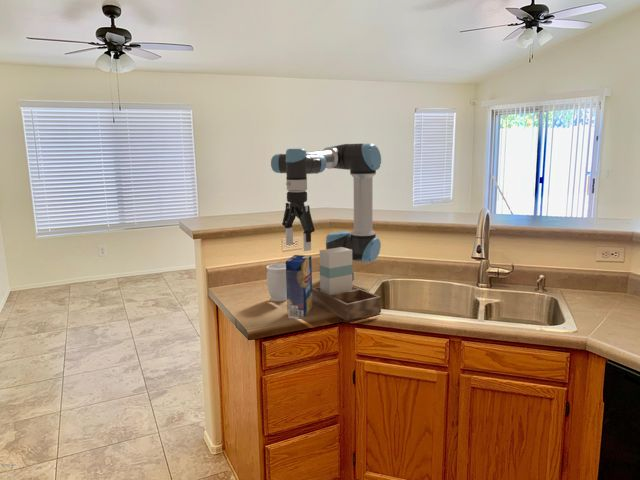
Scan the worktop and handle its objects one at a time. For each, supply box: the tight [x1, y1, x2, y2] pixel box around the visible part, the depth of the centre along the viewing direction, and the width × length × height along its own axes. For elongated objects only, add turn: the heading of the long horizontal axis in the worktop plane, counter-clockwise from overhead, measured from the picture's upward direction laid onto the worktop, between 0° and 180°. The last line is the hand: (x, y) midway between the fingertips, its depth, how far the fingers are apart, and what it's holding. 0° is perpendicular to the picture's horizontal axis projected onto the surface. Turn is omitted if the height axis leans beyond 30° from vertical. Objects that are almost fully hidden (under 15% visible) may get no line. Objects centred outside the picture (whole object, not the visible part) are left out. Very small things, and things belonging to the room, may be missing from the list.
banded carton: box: [319, 247, 354, 295], centre depth 187 cm, size 11×7×22 cm, turn 122°
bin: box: [312, 285, 382, 324], centre depth 183 cm, size 16×25×7 cm, turn 32°
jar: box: [266, 262, 287, 304], centre depth 195 cm, size 11×10×15 cm
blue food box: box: [285, 254, 313, 320], centre depth 178 cm, size 7×11×22 cm, turn 165°
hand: (298, 247), depth 175 cm, fingers open, 13 cm apart
